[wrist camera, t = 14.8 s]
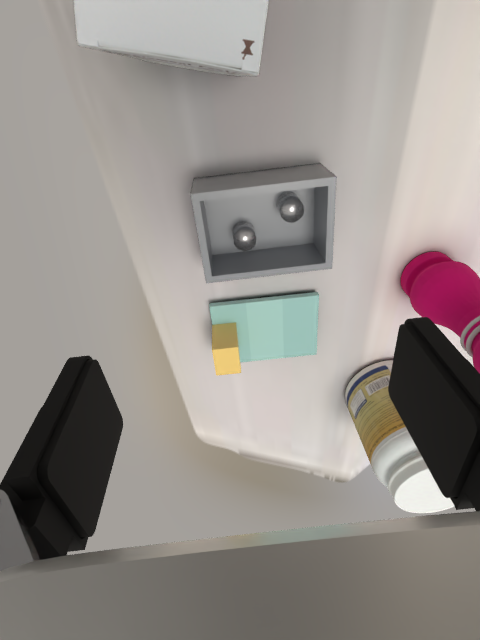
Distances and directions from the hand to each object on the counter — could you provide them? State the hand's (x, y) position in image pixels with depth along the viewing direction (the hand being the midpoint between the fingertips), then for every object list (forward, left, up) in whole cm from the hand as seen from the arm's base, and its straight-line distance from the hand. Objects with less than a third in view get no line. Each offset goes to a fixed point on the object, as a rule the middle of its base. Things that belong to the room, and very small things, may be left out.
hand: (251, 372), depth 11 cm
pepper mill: (-23, +15, -31) cm, 41 cm away
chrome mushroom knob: (-6, +4, -30) cm, 30 cm away
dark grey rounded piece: (-1, +6, -30) cm, 30 cm away
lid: (-3, +20, -30) cm, 36 cm away
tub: (-3, +5, -30) cm, 31 cm away
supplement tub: (-20, +34, -31) cm, 50 cm away
